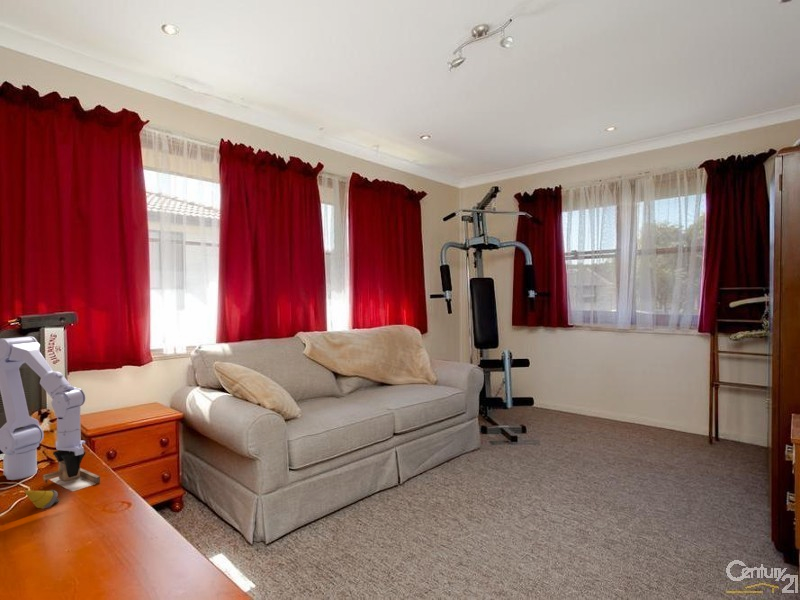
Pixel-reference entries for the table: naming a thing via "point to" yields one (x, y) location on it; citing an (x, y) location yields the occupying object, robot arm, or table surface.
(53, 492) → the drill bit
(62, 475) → the block
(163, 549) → the table surface
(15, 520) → the table surface
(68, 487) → the board
